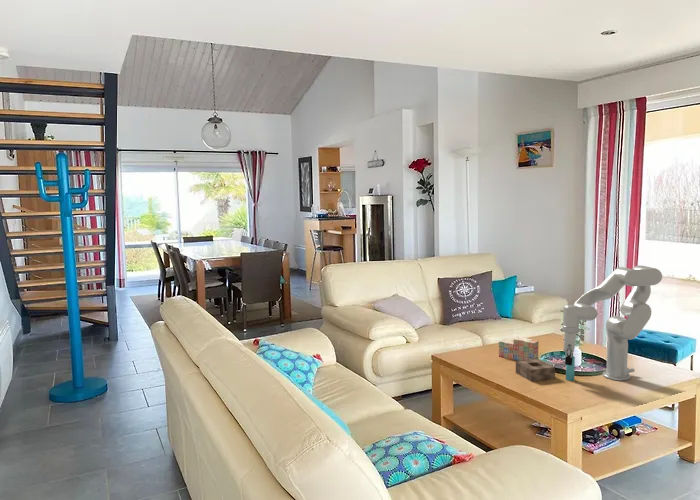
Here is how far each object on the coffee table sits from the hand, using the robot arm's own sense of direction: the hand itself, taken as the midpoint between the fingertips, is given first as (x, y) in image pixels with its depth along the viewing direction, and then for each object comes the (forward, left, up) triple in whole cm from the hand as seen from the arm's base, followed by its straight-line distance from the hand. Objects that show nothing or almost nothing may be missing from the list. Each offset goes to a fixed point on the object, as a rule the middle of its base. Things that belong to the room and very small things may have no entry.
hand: (568, 362), depth 270 cm
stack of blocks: (+5, -38, -10) cm, 40 cm away
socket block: (+12, -11, -9) cm, 19 cm away
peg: (-1, 0, -9) cm, 9 cm away
